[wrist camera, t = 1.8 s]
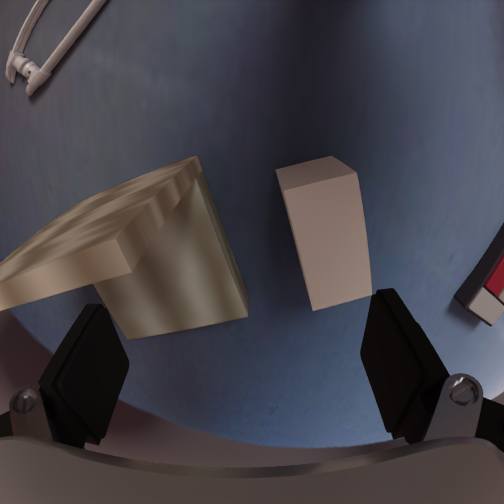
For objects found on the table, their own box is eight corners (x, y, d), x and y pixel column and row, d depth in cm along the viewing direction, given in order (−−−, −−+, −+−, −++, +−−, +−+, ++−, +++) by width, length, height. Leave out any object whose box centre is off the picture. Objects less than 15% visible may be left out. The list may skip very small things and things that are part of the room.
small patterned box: (541, 256, 31) (493, 330, 36) (525, 246, 35) (480, 315, 40) (521, 224, 28) (466, 311, 34) (503, 214, 32) (452, 295, 38)
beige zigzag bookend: (197, 154, 29) (115, 238, 11) (248, 295, 37) (246, 447, 19) (75, 204, 31) (-40, 301, 13) (136, 320, 39) (87, 445, 21)
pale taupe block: (331, 155, 29) (356, 172, 22) (351, 263, 35) (372, 303, 28) (275, 169, 30) (283, 190, 23) (303, 276, 36) (314, 320, 28)
